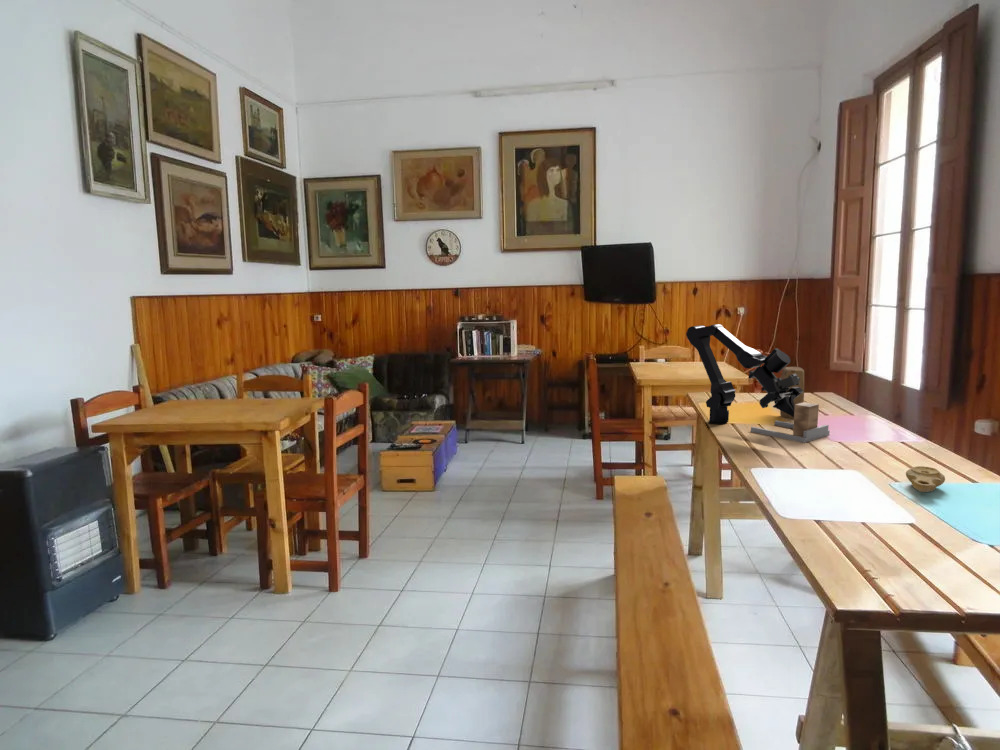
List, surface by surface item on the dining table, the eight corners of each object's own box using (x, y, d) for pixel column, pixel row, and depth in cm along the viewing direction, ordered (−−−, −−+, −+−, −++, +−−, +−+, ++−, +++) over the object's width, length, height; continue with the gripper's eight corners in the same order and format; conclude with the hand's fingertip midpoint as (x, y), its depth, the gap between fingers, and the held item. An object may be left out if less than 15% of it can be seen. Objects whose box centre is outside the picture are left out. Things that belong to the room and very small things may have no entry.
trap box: (750, 435, 222) (751, 421, 221) (776, 428, 231) (776, 415, 230) (804, 447, 206) (804, 432, 205) (829, 439, 215) (830, 424, 214)
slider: (793, 436, 214) (794, 404, 212) (802, 433, 217) (804, 402, 216) (807, 439, 210) (809, 406, 208) (816, 436, 213) (818, 404, 212)
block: (803, 421, 241) (806, 369, 237) (782, 420, 242) (785, 369, 239) (797, 415, 251) (800, 365, 248) (777, 414, 253) (779, 365, 250)
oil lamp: (917, 499, 159) (918, 479, 158) (889, 480, 173) (891, 463, 172) (962, 500, 157) (964, 481, 156) (931, 481, 171) (933, 463, 170)
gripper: (769, 369, 212) (799, 407, 204) (799, 364, 222) (828, 399, 215) (747, 389, 219) (775, 426, 212) (777, 383, 230) (804, 418, 223)
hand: (796, 416), depth 215 cm, fingers closed
